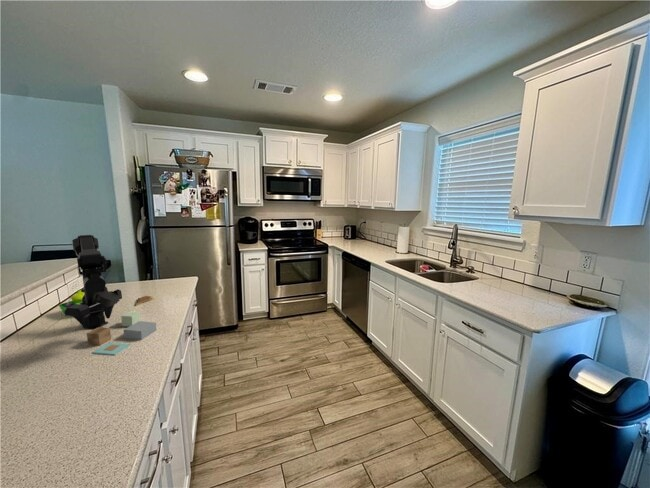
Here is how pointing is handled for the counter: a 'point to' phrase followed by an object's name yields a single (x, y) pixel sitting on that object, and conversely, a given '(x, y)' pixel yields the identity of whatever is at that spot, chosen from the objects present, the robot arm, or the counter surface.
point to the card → (111, 348)
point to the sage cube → (130, 318)
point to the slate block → (140, 330)
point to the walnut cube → (98, 336)
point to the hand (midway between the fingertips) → (97, 323)
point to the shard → (144, 299)
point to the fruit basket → (73, 301)
